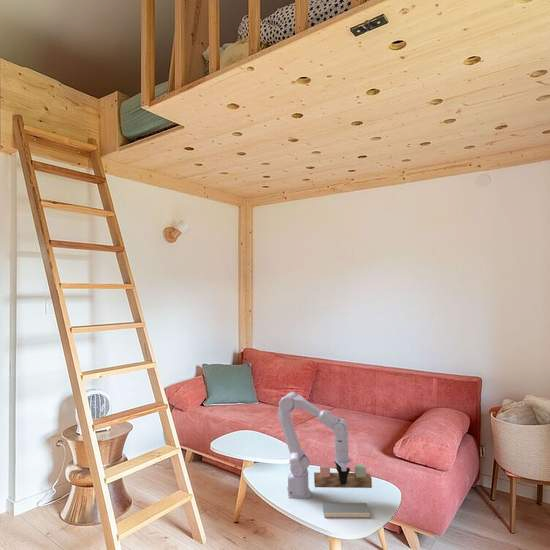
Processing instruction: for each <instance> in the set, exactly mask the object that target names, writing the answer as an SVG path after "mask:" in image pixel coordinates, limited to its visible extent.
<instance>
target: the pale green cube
mask: <svg viewBox="0 0 550 550" xmlns="http://www.w3.org/2000/svg"><path fill="white" fill-rule="evenodd" d="M366 469H367V467H366V465H365V463H354V473H355V475H356V478H366V473H367V470H366Z"/></svg>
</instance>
